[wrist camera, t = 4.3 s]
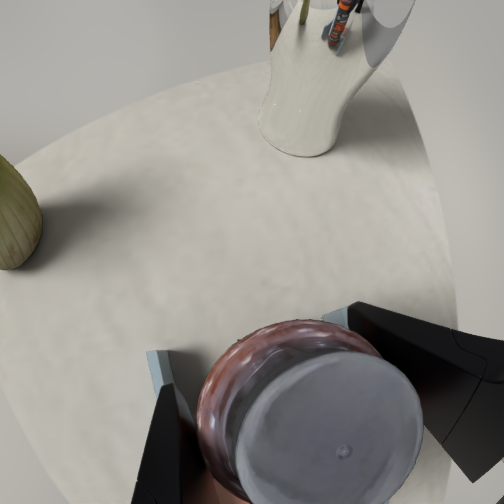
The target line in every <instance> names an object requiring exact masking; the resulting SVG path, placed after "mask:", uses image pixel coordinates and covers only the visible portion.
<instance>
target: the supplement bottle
mask: <svg viewBox="0 0 504 504" xmlns="http://www.w3.org/2000/svg"><path fill="white" fill-rule="evenodd" d="M237 341H238V342H236V343H234V344H233V345H232V346H231V347H230V348H228V350H227V351H226V352H225V353H224V354H223V355H222V356H221V357H220V358H219V359H218V361H217V362H216V363H215V364H214V366H213V368H212V369H211V371H210V372H209V374H208V376H207V378H206V380H205V382H204V385H203V387H202V389H201V392H200V395H199V399H198V403H197V411H196V434H197V440H198V446H199V449H200V452H201V454H202V457H203V460H204V462H205V464H206V466H207V468H208V469H209V470H210V472H211V473H212V475H213V476H214V477H215V479H216V480H217V481H218V482H219V484H221V485H222V486H223V487H224V488H225V489H226V490H228V491H229V492H230V493H231V494H233V495H234V496H236V497H237V498H239V499H241V500H243V501H245V502H247V503H249V504H384V503H385V502H386V501H387V500H389V499H390V498H391V497H392V496H393V495H394V494H395V493H396V492H397V490H398V489H399V488H400V487H401V486H402V485H403V483H404V482H405V480H406V478H407V477H408V475H409V474H410V472H411V471H412V469H413V467H414V465H415V463H416V459H417V457H418V455H419V451H420V448H421V443H422V438H423V430H424V425H423V410H422V408H421V404H420V399H419V396H418V394H417V392H416V390H415V388H414V386H413V385H412V384H411V382H410V381H409V380H408V378H407V377H406V376H405V375H404V374H403V373H402V372H401V371H400V370H399V369H398V368H397V367H396V366H394V365H392V364H391V363H389V362H388V361H386V360H384V359H383V357H382V356H381V355H380V354H379V352H378V351H376V349H375V348H374V347H373V346H372V345H371V344H370V343H369V342H368V341H367V340H366V339H364V338H363V337H362V336H360V335H359V334H357V333H356V332H354V331H351V330H350V329H347V328H345V327H344V326H342V325H338V324H334V323H330V322H325V321H319V320H311V319H309V320H299V319H296V320H291V321H284V322H281V323H276V324H272V325H270V326H266V327H264V328H261V329H258V330H256V331H255V332H253V333H251V334H249V335H247V336H245V337H244V338H243V339H241V340H239V339H238V340H237Z"/></svg>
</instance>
